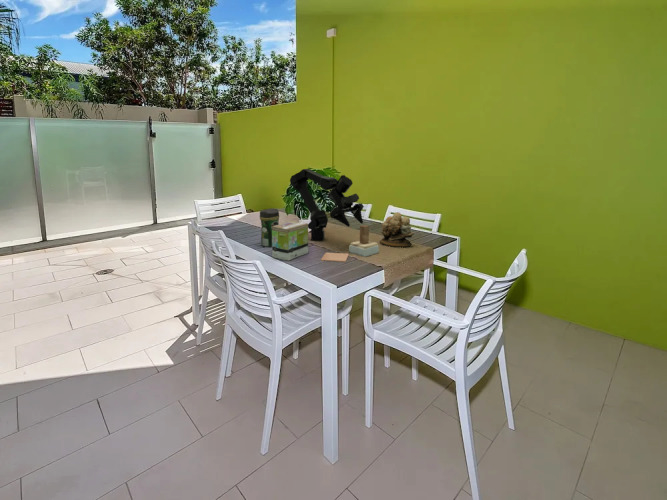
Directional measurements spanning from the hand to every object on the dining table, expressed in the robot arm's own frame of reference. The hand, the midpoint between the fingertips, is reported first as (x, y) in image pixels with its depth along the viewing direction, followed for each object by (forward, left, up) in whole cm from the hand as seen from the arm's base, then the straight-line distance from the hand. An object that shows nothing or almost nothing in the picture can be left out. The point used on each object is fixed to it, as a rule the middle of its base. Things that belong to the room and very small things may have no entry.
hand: (355, 224), depth 180 cm
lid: (+4, -3, -9) cm, 11 cm away
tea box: (-29, -14, -13) cm, 34 cm away
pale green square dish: (+4, -3, -13) cm, 14 cm away
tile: (-8, -14, -13) cm, 20 cm away
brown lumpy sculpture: (+19, +14, -13) cm, 27 cm away
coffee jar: (-44, +1, -13) cm, 45 cm away
